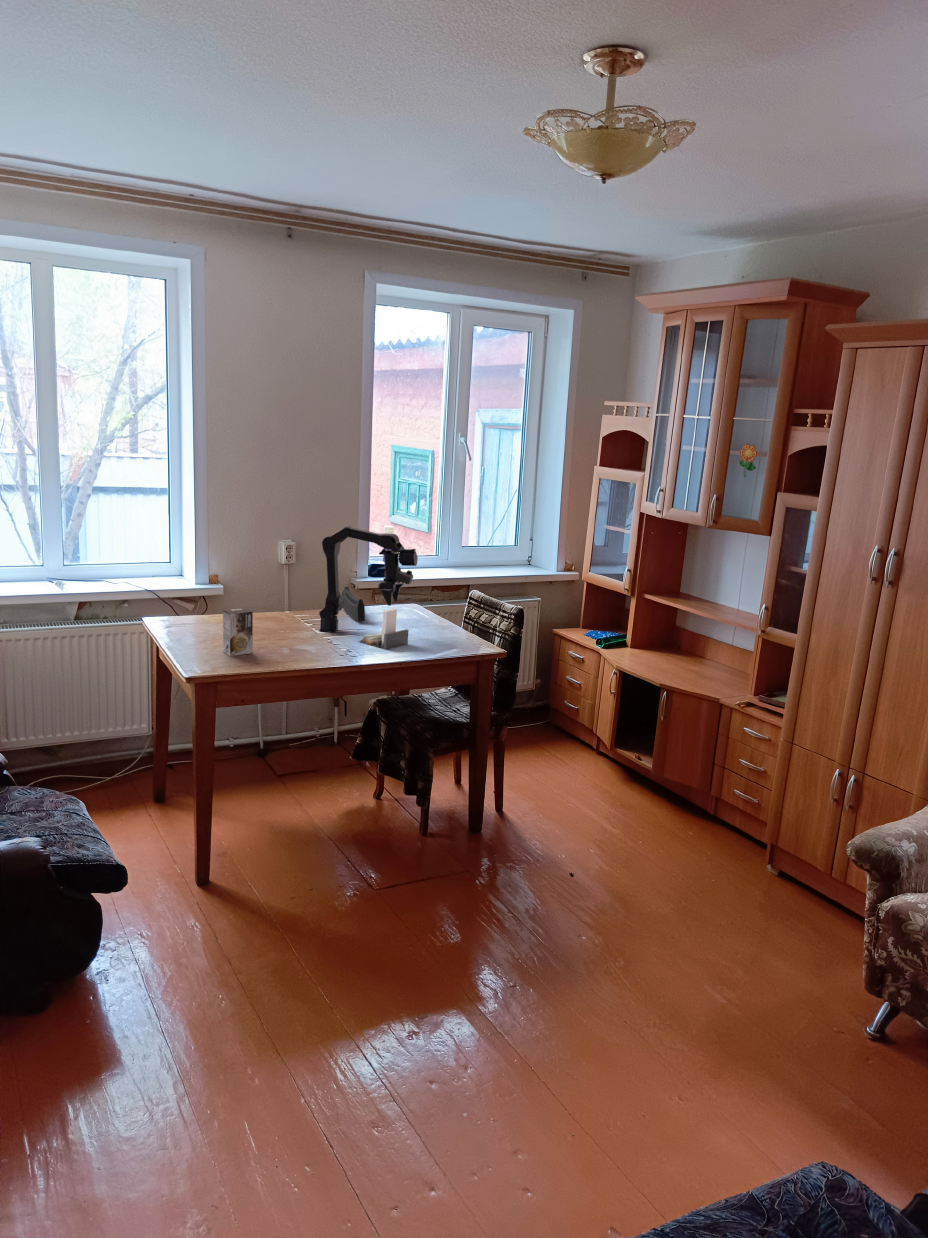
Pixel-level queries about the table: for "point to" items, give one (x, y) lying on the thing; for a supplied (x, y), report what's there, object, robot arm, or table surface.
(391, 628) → the tall sheet
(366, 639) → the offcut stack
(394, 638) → the rack
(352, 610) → the magazine
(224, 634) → the coffee box
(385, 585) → the robot arm
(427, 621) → the table surface
